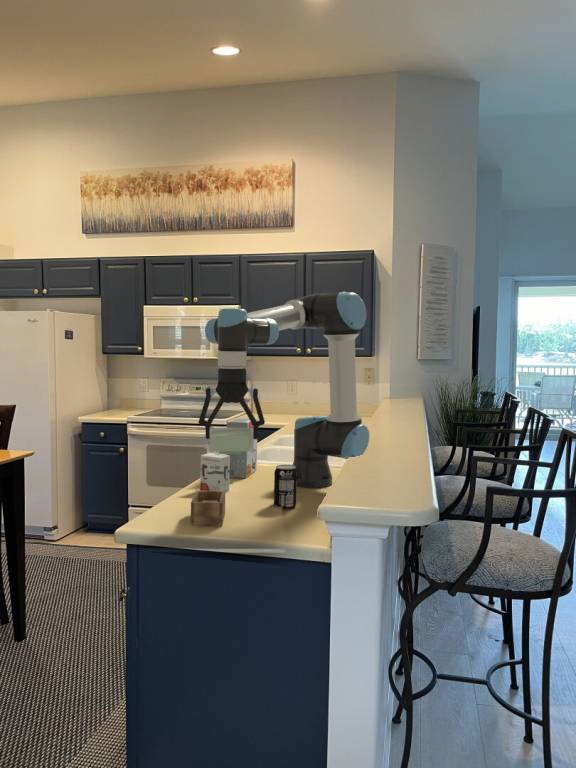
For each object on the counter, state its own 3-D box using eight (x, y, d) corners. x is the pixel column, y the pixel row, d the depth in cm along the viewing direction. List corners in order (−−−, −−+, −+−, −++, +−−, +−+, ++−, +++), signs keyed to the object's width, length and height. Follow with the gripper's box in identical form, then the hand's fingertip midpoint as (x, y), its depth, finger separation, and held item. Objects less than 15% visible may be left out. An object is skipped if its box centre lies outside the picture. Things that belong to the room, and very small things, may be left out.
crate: (225, 515, 172) (225, 490, 172) (222, 529, 160) (222, 502, 159) (195, 515, 172) (196, 490, 172) (190, 529, 159) (190, 502, 159)
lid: (251, 445, 173) (251, 427, 173) (249, 455, 159) (249, 435, 159) (215, 445, 173) (215, 427, 172) (210, 455, 159) (210, 435, 158)
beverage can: (283, 502, 188) (284, 463, 187) (300, 506, 184) (301, 466, 183) (269, 507, 183) (269, 466, 182) (286, 511, 179) (287, 469, 178)
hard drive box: (246, 479, 220) (247, 422, 219) (225, 477, 222) (226, 421, 220) (257, 470, 235) (258, 417, 234) (237, 469, 237) (238, 417, 236)
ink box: (199, 490, 201) (199, 454, 200) (207, 488, 205) (208, 452, 205) (221, 494, 197) (222, 457, 196) (230, 491, 201) (230, 455, 201)
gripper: (275, 367, 168) (274, 448, 170) (190, 366, 168) (190, 448, 169) (275, 368, 161) (274, 454, 162) (187, 367, 160) (187, 453, 162)
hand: (231, 451), depth 166 cm, fingers closed on lid, 10 cm apart
